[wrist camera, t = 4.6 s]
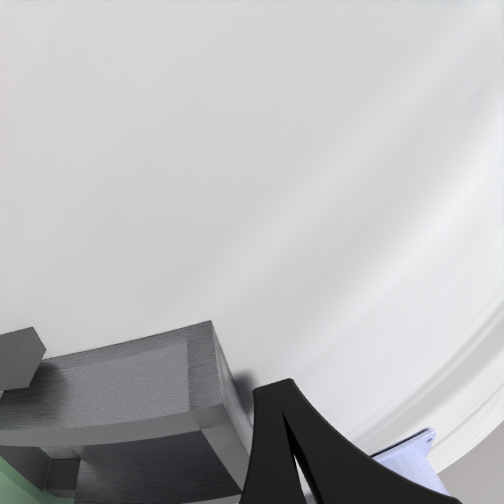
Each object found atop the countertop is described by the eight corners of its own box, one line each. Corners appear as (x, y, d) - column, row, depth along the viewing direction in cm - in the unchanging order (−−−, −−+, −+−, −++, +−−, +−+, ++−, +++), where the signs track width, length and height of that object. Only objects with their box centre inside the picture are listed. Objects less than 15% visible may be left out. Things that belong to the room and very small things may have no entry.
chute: (253, 428, 12) (270, 495, 9) (92, 454, 12) (84, 513, 8) (211, 320, 10) (222, 403, 7) (18, 364, 9) (-14, 429, 6)
